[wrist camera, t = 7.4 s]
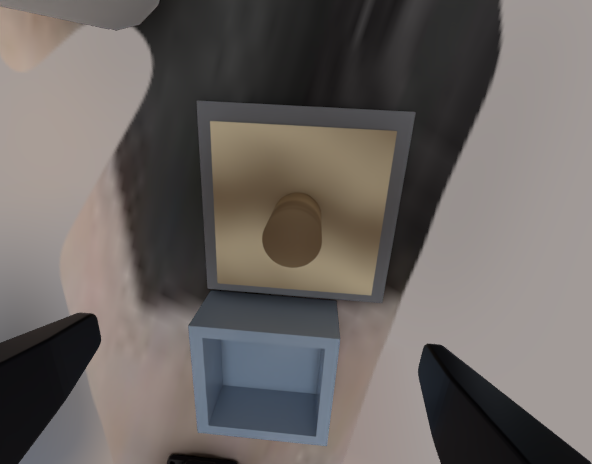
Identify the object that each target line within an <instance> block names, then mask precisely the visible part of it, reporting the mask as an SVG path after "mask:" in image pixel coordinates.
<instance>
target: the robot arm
mask: <svg viewBox="0 0 592 464" xmlns="http://www.w3.org/2000/svg"><path fill="white" fill-rule="evenodd" d="M100 342H101V335H100V330H99V325H98V320H97V317H96V316H95V315H94V314H91V313H76V314H74V315H71V316H69V317H66V318H64V319H61V320H58V321H56V322H53V323H50V324H48V325H45V326H43V327H40V328H37V329H35V330H32V331H30V332H27V333H25V334H22V335H19V336H17V337H14V338H12V339H9V340H6V341H4V342H1V343H0V464H18V463H19V462H20V461H21V459H22V458H23V457H24V455H25V454H26V453H27V451H28V450H29V449H30V447H31V446H32V445H33V443H34V442H35V441H36V439H37V438H38V437H39V435H40V434H41V433H42V431H43V430H44V429H45V427H46V426H47V425H48V423H49V422H50V421H51V419H52V418H53V417H54V415H55V414H56V413H57V411H58V410H59V408H60V407H61V406H62V404H63V403H64V401H65V400H66V399H67V397H68V396H69V394H70V393H71V391H72V389H73V388H74V386H75V385H76V383H77V381H78V380H79V378H80V376H81V375H82V373H83V372H84V370H85V369H86V367H87V365H88V364H89V362H90V361H91V359H92V357H93V356H94V354H95V353H96V351H97V349H98V348H99V345H100ZM418 376H419V381H420V385H421V390H422V394H423V398H424V403H425V407H426V412H427V417H428V420H429V425H430V429H431V434H432V437H433V441H434V444H435V447H436V450H437V453H438V456H439V459H440V462H441V464H591V462H590V461H589V460H587V459H586V458H585V457H583V456H582V455H581V454H580V453H579V452H577V451H576V450H575V449H574V448H572V447H571V446H570V445H568V444H567V443H566V442H565V441H563V440H562V439H561V438H560V437H558V436H557V435H556V434H554V433H553V432H552V431H551V430H549V429H548V428H547V427H546V426H544V425H543V424H541V423H540V422H539V421H538V420H537V419H535V418H534V417H533V416H532V415H530V414H529V413H528V412H526V411H525V410H524V409H523V408H521V407H520V406H519V405H517V404H516V403H515V402H514V401H512V400H511V399H510V398H509V397H507V396H506V395H505V394H504V393H502V392H501V391H500V390H498V389H497V388H496V387H495V386H493V385H492V384H491V383H490V382H488V381H487V380H486V379H484V378H483V377H482V376H481V375H479V374H478V373H477V372H476V371H474V370H473V369H472V368H470V367H469V366H468V365H466V364H465V363H464V362H463V361H462V360H460V359H459V358H458V357H456V356H455V355H454V354H452V353H451V352H450V351H449V350H447V349H446V348H445V347H444V346H442V345H437V344H426V345H425V346H424V348H423V352H422V355H421V359H420V363H419V368H418ZM167 464H237V463H236V462H234V461H225V460H216V459H207V458H198V457H189V456H180V455H170V456H169V458H168V461H167Z"/></svg>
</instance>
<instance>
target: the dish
mask: <svg viewBox="0 0 592 464" xmlns="http://www.w3.org/2000/svg"><path fill="white" fill-rule="evenodd" d="M188 328H189V339H190V351H191V362H192V373H193V384H194V396H195V407H196V418H197V430H198V433H207V434H216V435H226V436H235V437H245V438H254V439H264V440H273V441H283V442H292V443H302V444H311V445H321V446H327V441H328V433H329V425H330V417H331V409H332V401H333V393H334V385H335V377H336V369H337V361H338V353H339V345H340V332H339V322H338V312H337V302H336V301H333V300H321V299H309V298H297V297H285V296H273V295H260V294H248V293H236V292H224V291H212V290H211V291H210V292H209V294H208V296H207V297H206V299H205V300H204V302H203V303H202V305H201V307H200V308H199V310H198V311H197V313H196V314H195V316H194V318H193V319H192V321H191V322H190V324H189V325H188Z"/></svg>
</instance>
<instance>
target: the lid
mask: <svg viewBox="0 0 592 464" xmlns="http://www.w3.org/2000/svg"><path fill="white" fill-rule="evenodd" d="M210 132H211V153H212V174H213V196H214V217H215V238H216V260H217V281H218V283H220V284H233V285H246V286H258V287H271V288H283V289H296V290H308V291H321V292H333V293H346V294H358V295H371V294H372V288H373V281H374V275H375V269H376V262H377V256H378V250H379V243H380V237H381V231H382V224H383V218H384V212H385V205H386V199H387V193H388V186H389V180H390V174H391V167H392V161H393V154H394V148H395V142H396V135H397V131H390V130H371V129H352V128H334V127H315V126H296V125H278V124H259V123H240V122H222V121H210Z"/></svg>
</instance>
